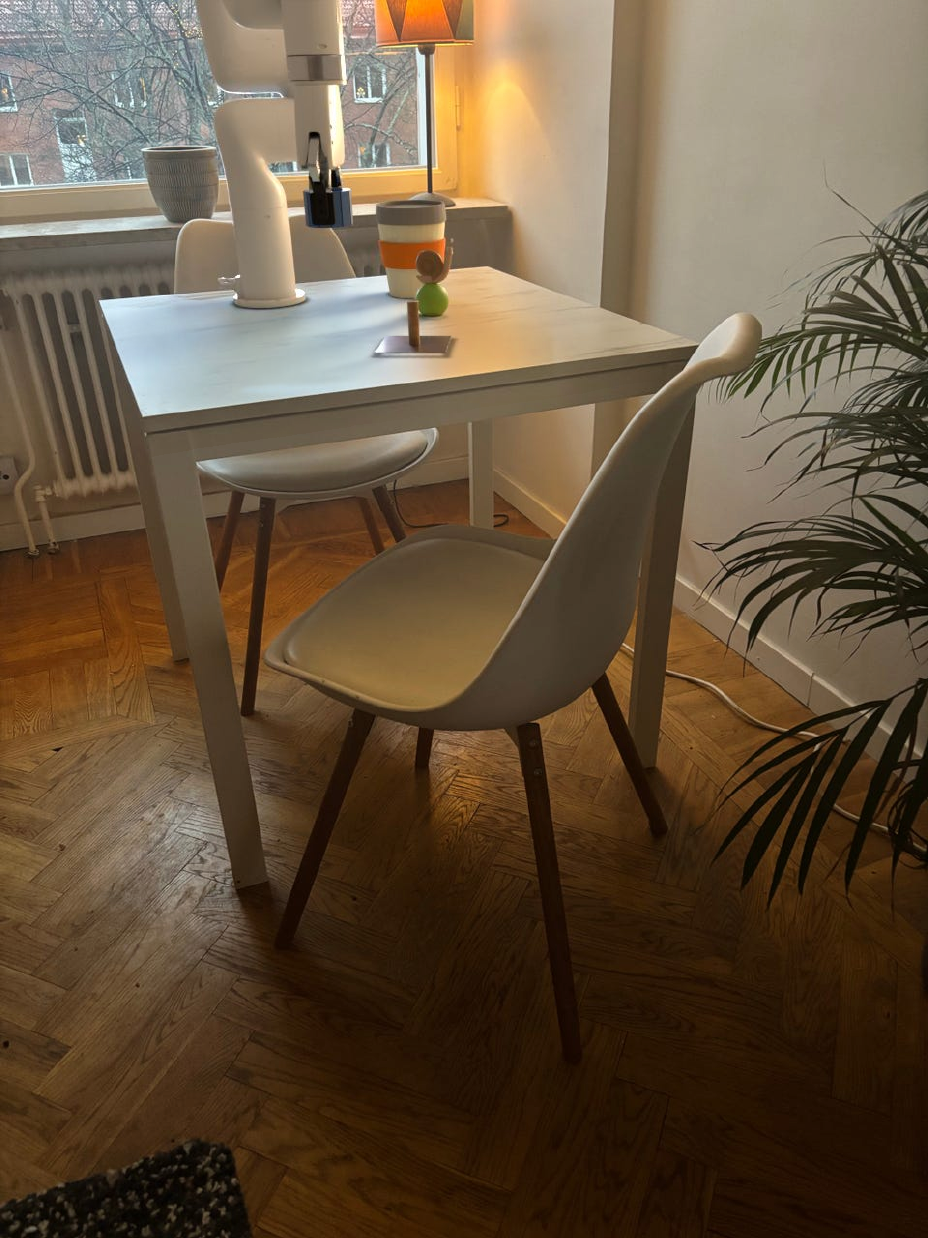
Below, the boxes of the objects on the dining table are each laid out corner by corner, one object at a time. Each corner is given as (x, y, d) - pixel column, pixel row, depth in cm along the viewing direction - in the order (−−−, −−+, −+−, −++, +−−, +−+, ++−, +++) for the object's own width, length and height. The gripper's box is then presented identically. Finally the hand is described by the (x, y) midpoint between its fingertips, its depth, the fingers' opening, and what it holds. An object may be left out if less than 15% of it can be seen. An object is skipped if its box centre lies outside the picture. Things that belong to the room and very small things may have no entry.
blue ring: (302, 228, 128) (298, 192, 126) (312, 222, 134) (308, 187, 131) (348, 227, 128) (345, 191, 125) (356, 221, 133) (353, 186, 131)
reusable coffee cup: (447, 299, 165) (445, 207, 157) (376, 300, 165) (370, 208, 158) (449, 285, 176) (447, 198, 168) (383, 287, 176) (377, 200, 169)
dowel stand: (375, 356, 132) (371, 308, 128) (385, 339, 140) (382, 293, 137) (445, 356, 131) (444, 308, 128) (451, 339, 140) (450, 293, 136)
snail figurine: (451, 321, 150) (449, 241, 144) (412, 320, 151) (408, 241, 145) (458, 314, 155) (456, 236, 149) (420, 313, 156) (417, 236, 150)
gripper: (303, 73, 129) (315, 213, 138) (272, 72, 114) (288, 230, 123) (356, 72, 129) (366, 213, 138) (332, 71, 114) (344, 229, 123)
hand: (329, 219), depth 130 cm, fingers closed on blue ring, 6 cm apart
